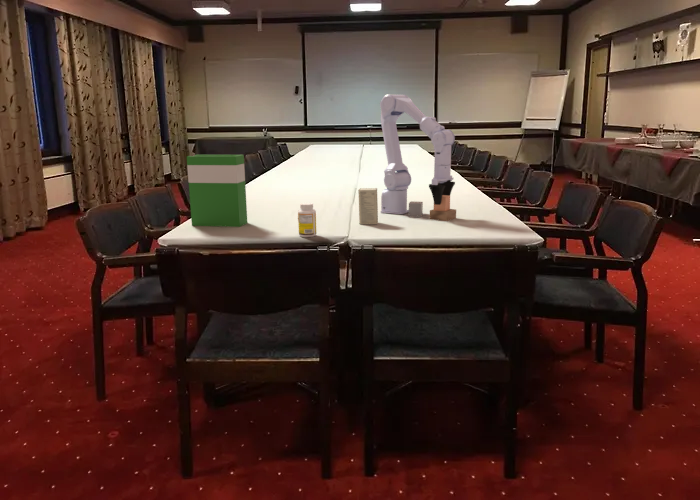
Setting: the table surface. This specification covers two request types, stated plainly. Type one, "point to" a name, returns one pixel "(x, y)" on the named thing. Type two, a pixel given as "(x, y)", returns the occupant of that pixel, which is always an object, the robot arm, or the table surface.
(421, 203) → the grey block
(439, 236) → the table surface
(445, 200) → the rust block
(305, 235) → the supplement bottle
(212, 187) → the cereal box
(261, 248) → the table surface
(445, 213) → the walnut slab
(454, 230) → the table surface
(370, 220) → the skincare box
